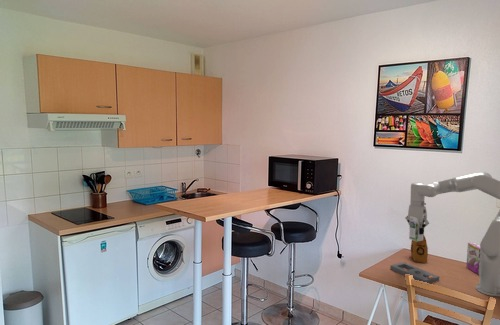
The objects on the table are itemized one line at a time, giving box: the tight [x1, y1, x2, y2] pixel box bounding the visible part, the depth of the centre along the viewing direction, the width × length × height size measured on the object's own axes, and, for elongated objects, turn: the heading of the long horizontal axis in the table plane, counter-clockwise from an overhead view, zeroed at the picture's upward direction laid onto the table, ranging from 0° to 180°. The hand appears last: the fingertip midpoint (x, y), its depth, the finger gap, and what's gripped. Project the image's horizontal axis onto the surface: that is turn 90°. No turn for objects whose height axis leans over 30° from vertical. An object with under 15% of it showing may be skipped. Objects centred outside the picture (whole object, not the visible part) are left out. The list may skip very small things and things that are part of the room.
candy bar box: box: [466, 242, 482, 276], centre depth 207 cm, size 11×5×16 cm, turn 1°
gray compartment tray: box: [390, 261, 440, 284], centre depth 202 cm, size 24×12×3 cm, turn 26°
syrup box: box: [408, 216, 424, 242], centre depth 204 cm, size 6×6×14 cm
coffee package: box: [410, 233, 429, 264], centre depth 225 cm, size 10×12×22 cm
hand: (416, 232), depth 204 cm, fingers closed on syrup box, 6 cm apart
